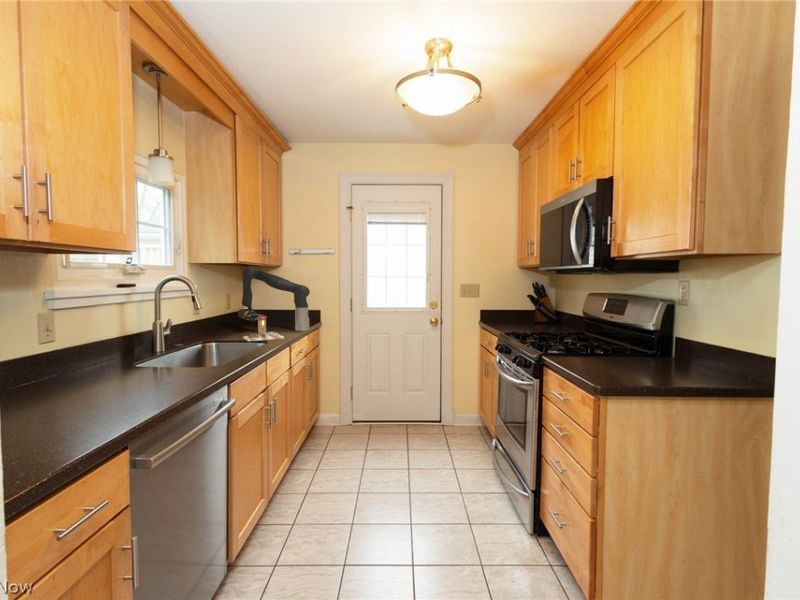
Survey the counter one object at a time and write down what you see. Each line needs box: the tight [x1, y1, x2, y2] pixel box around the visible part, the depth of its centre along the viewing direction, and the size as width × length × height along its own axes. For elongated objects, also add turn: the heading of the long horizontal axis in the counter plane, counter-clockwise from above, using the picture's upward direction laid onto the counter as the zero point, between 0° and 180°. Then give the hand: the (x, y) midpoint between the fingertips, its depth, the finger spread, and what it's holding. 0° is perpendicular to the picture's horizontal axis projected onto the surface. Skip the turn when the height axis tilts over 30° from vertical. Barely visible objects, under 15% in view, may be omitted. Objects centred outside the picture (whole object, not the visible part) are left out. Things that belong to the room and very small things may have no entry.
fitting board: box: [242, 331, 285, 342], centre depth 254 cm, size 22×13×3 cm, turn 124°
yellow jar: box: [257, 316, 268, 335], centre depth 267 cm, size 6×6×12 cm
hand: (257, 317), depth 276 cm, fingers open, 8 cm apart
